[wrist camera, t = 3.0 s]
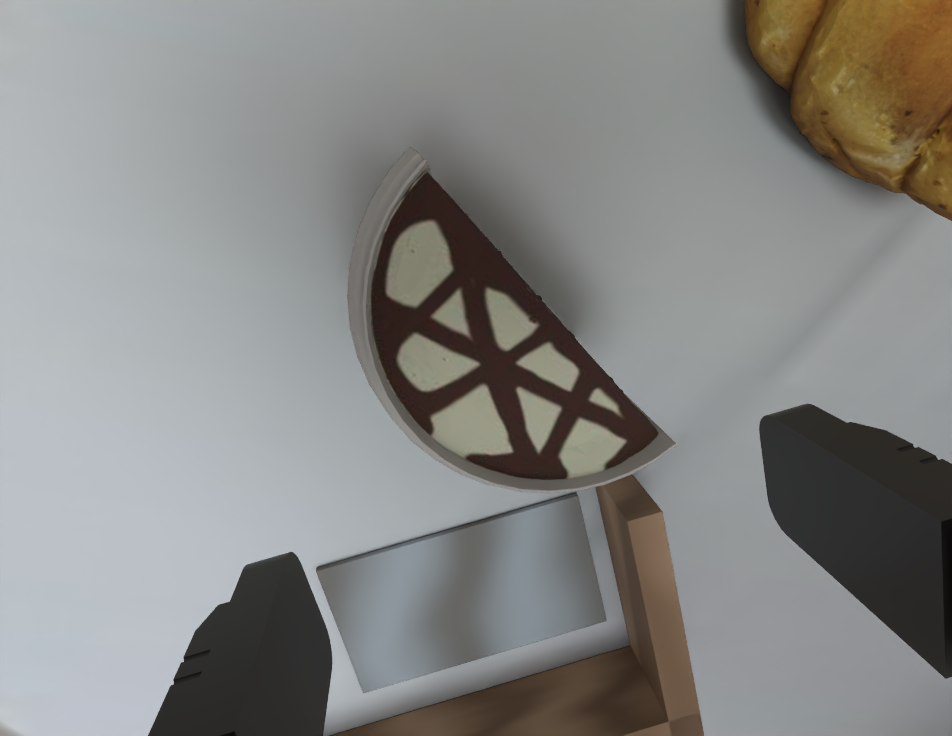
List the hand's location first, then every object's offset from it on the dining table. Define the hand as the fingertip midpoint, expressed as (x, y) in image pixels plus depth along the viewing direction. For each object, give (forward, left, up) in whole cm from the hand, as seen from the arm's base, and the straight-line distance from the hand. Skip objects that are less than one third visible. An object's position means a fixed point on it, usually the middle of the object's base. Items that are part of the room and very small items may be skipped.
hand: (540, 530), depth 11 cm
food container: (0, 0, -18) cm, 18 cm away
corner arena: (+4, +15, -18) cm, 24 cm away
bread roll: (-20, -6, -18) cm, 27 cm away
